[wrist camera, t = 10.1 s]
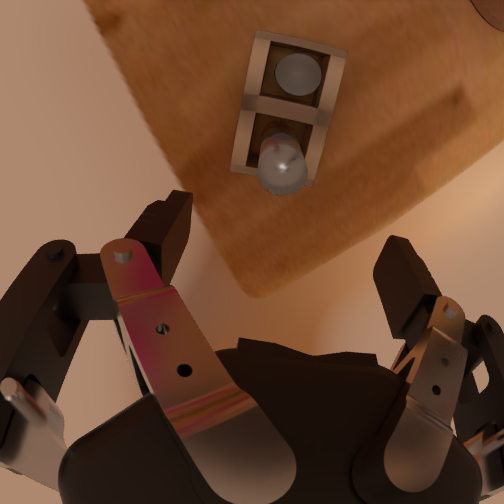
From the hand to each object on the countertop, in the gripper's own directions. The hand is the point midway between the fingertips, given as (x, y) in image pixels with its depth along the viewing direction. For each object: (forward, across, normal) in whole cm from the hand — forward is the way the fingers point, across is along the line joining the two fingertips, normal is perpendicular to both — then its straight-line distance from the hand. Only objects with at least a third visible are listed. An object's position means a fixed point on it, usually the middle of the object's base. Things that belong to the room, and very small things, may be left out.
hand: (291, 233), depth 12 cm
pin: (+17, 0, 0) cm, 17 cm away
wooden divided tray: (+17, 0, -3) cm, 17 cm away
